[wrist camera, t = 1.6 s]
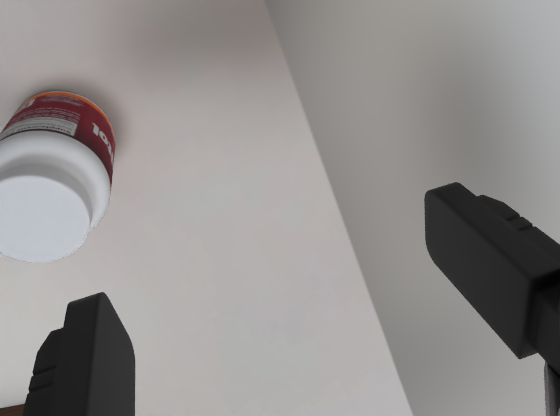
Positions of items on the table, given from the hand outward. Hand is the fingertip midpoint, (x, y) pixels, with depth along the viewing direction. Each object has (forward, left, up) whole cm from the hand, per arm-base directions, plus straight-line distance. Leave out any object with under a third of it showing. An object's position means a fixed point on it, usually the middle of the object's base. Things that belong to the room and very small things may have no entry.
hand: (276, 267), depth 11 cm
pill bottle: (-8, -5, -22) cm, 24 cm away
